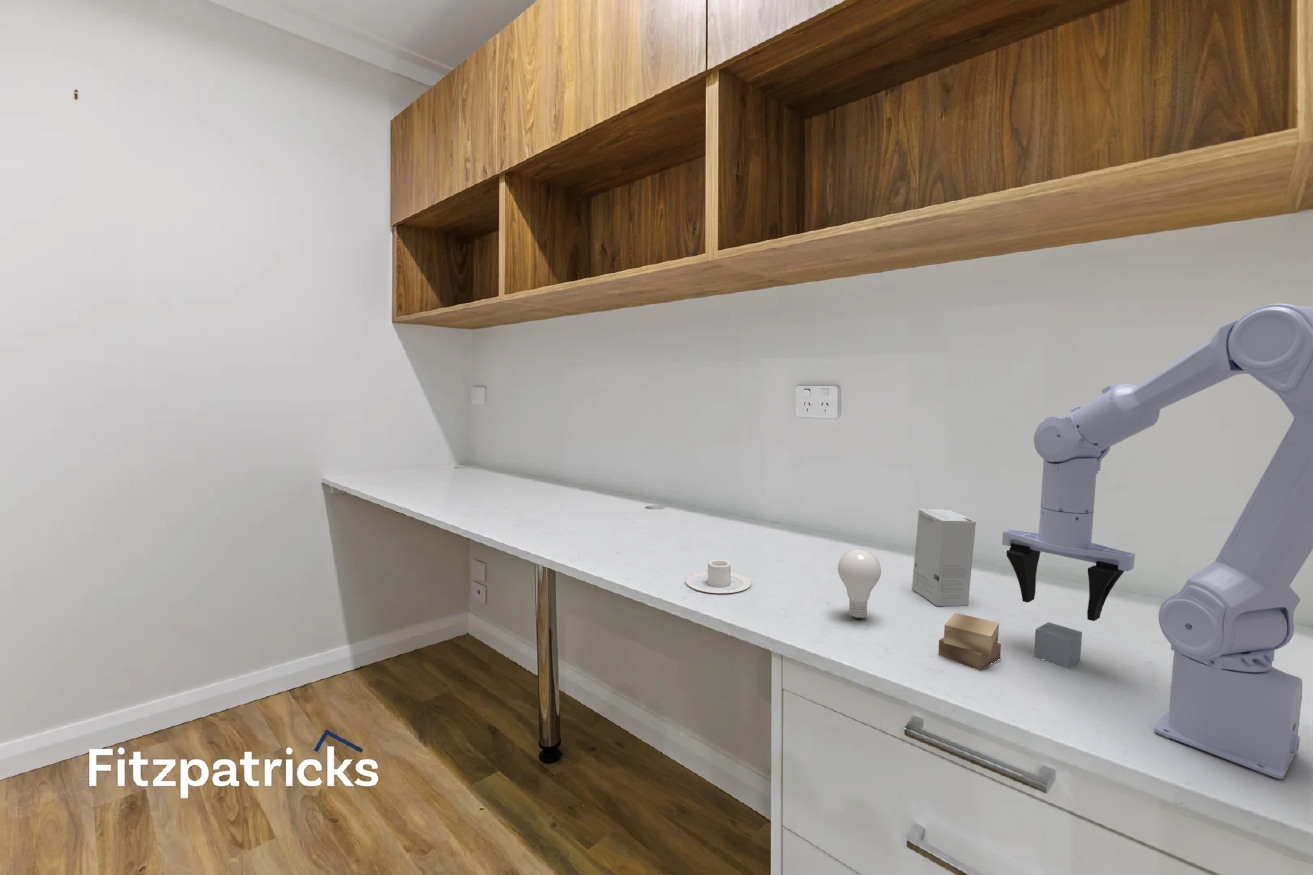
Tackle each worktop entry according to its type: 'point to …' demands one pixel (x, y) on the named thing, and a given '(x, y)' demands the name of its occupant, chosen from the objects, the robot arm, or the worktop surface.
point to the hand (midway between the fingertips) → (1059, 609)
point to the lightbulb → (859, 579)
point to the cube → (1058, 644)
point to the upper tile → (971, 633)
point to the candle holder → (719, 577)
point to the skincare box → (943, 557)
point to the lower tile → (969, 655)
